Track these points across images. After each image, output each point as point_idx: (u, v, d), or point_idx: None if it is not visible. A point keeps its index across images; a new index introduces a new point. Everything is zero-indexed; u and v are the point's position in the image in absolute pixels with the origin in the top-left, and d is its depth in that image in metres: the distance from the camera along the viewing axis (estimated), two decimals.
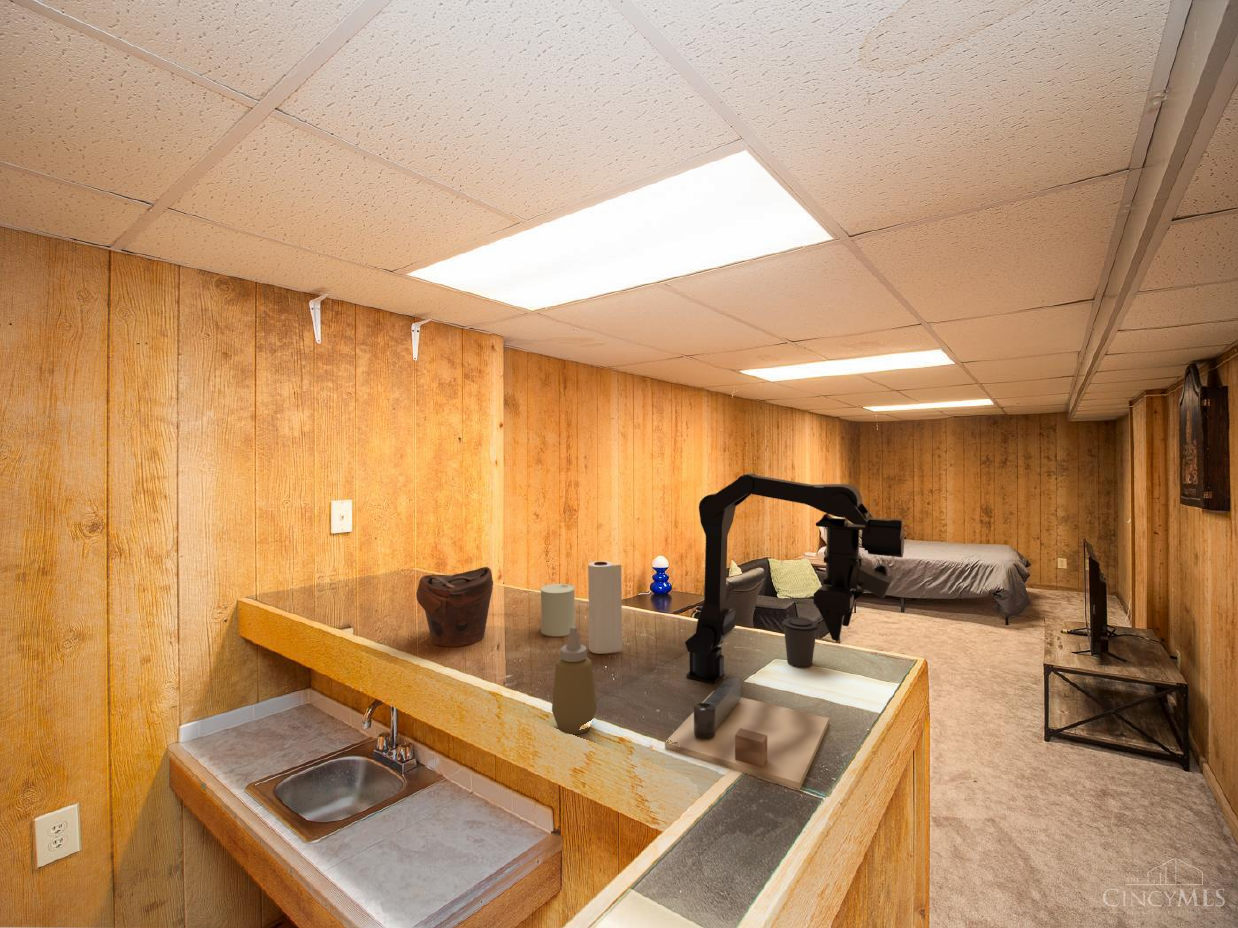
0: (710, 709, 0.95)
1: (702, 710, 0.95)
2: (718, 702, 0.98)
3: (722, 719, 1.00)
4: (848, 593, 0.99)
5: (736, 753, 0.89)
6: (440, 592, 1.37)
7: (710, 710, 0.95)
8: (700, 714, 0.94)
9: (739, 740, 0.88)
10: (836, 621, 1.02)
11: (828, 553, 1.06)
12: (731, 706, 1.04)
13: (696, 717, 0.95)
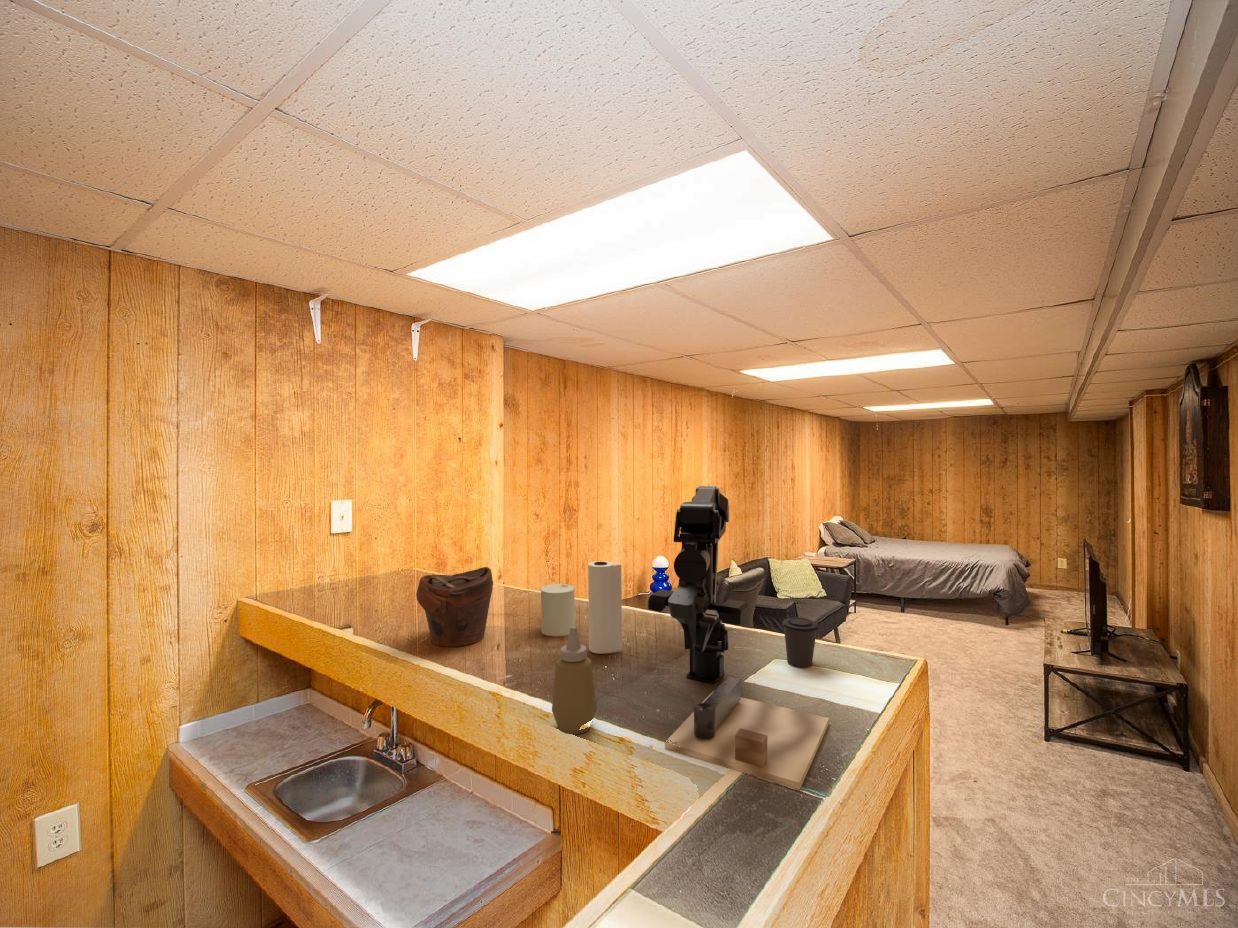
0: (710, 709, 0.95)
1: (702, 710, 0.95)
2: (718, 702, 0.98)
3: (722, 719, 1.00)
4: (657, 598, 1.09)
5: (736, 753, 0.89)
6: (440, 592, 1.37)
7: (710, 710, 0.95)
8: (700, 714, 0.94)
9: (739, 740, 0.88)
10: None
11: None
12: (731, 706, 1.04)
13: (696, 717, 0.95)
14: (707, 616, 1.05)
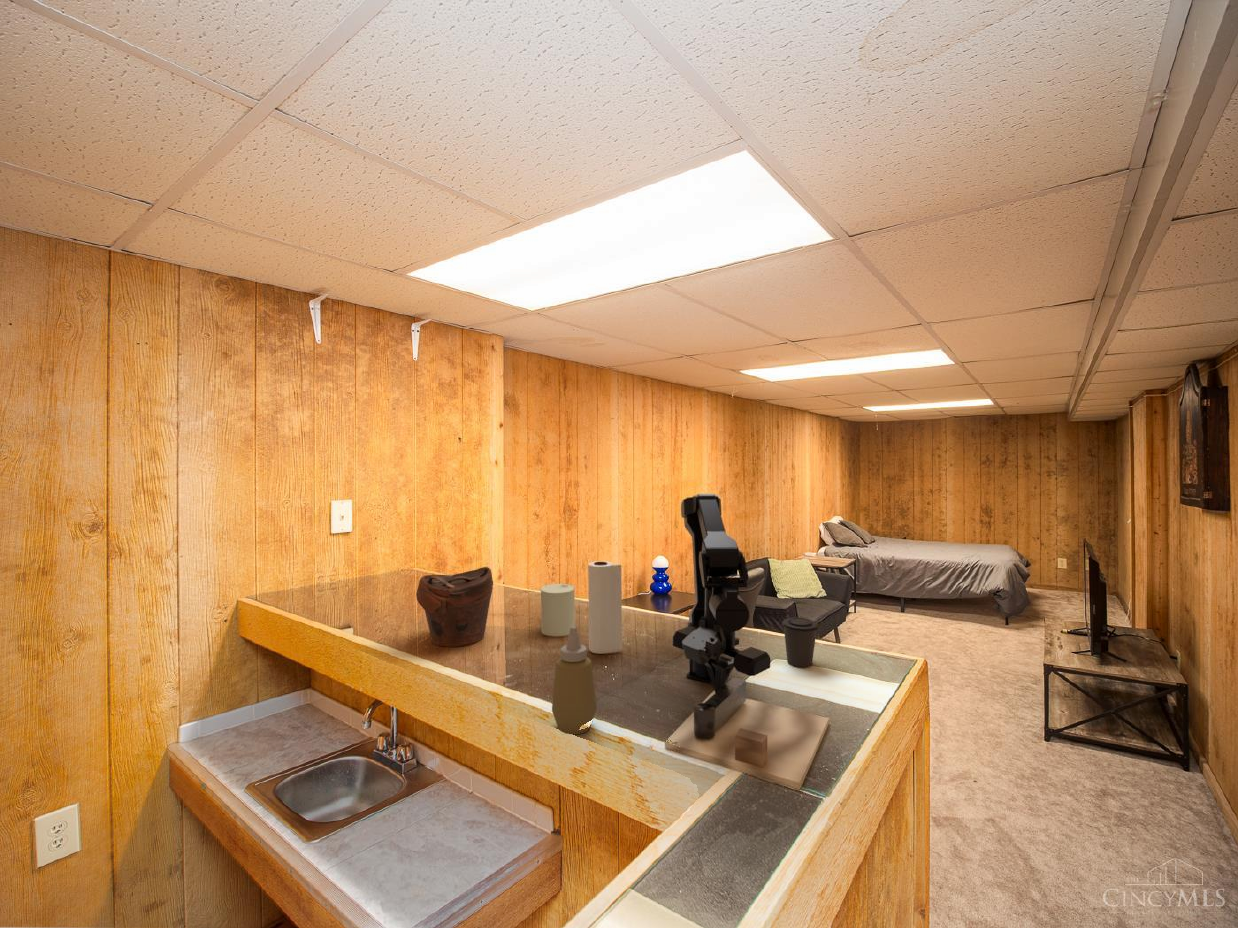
0: (710, 709, 0.95)
1: (702, 710, 0.95)
2: (719, 703, 0.98)
3: (724, 720, 0.99)
4: (681, 635, 1.09)
5: (736, 753, 0.89)
6: (440, 592, 1.37)
7: (710, 710, 0.95)
8: (699, 714, 0.94)
9: (739, 740, 0.88)
10: None
11: None
12: (735, 708, 1.03)
13: (696, 717, 0.95)
14: (721, 660, 1.03)
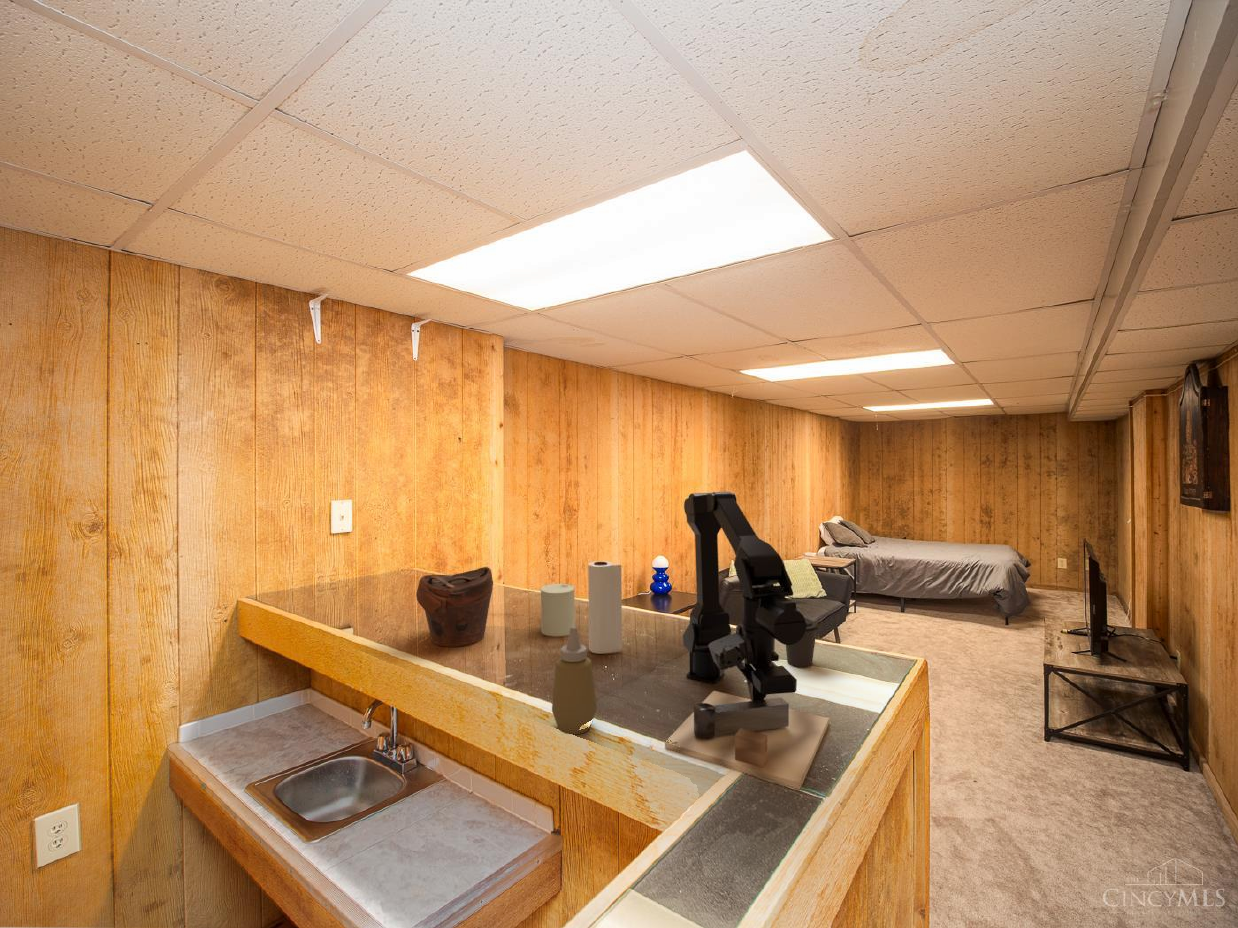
0: (707, 711, 0.95)
1: (699, 709, 0.95)
2: (728, 710, 0.96)
3: (736, 730, 0.96)
4: None
5: (736, 753, 0.89)
6: (440, 592, 1.37)
7: (705, 711, 0.94)
8: (694, 711, 0.95)
9: (739, 740, 0.88)
10: None
11: None
12: (762, 726, 0.97)
13: None
14: (752, 672, 0.98)
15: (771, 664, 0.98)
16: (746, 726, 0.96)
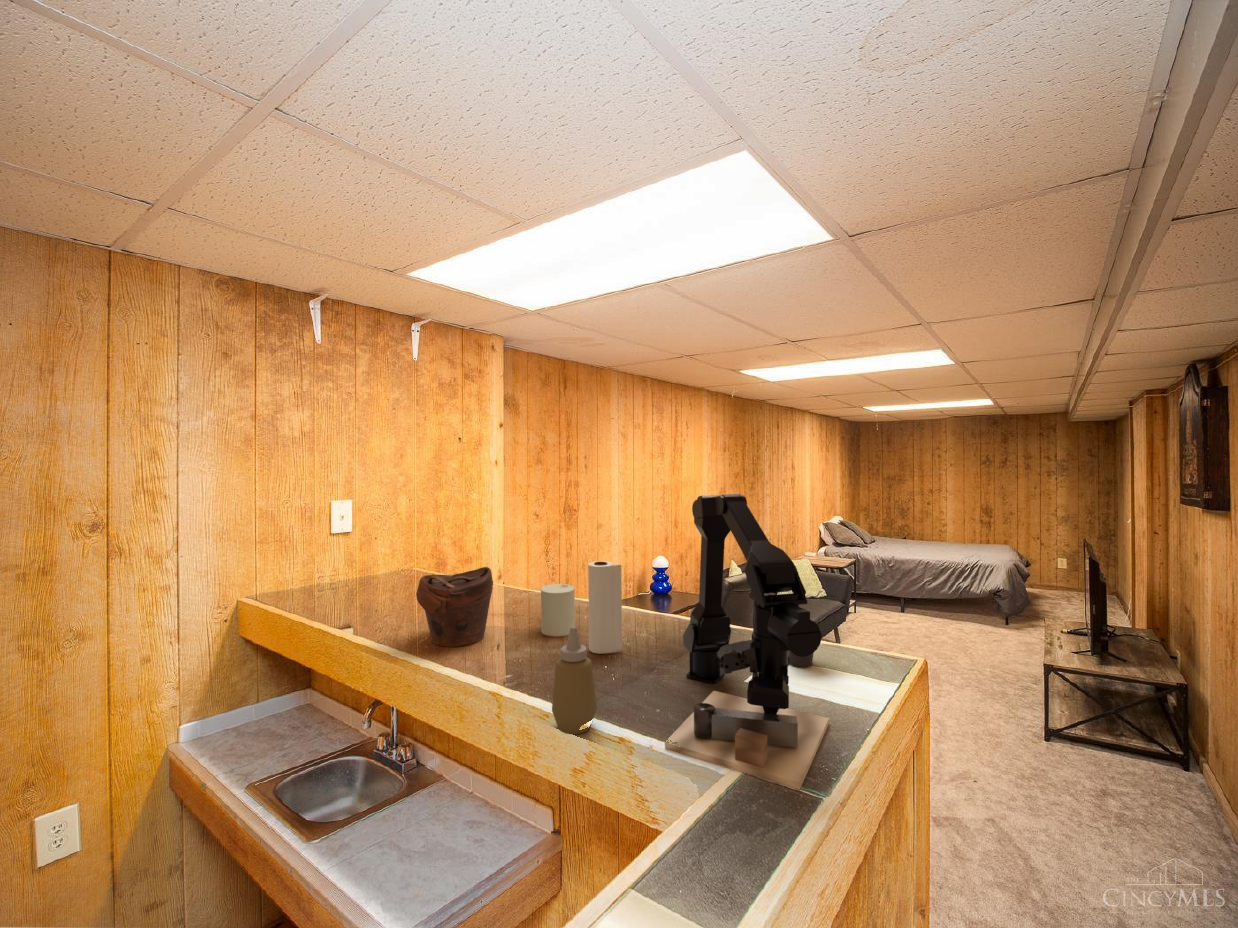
0: (704, 711, 0.95)
1: (699, 707, 0.96)
2: (727, 715, 0.94)
3: None
4: None
5: (736, 753, 0.89)
6: (440, 592, 1.37)
7: (702, 711, 0.95)
8: None
9: (739, 740, 0.88)
10: None
11: None
12: None
13: None
14: None
15: (780, 678, 0.92)
16: None
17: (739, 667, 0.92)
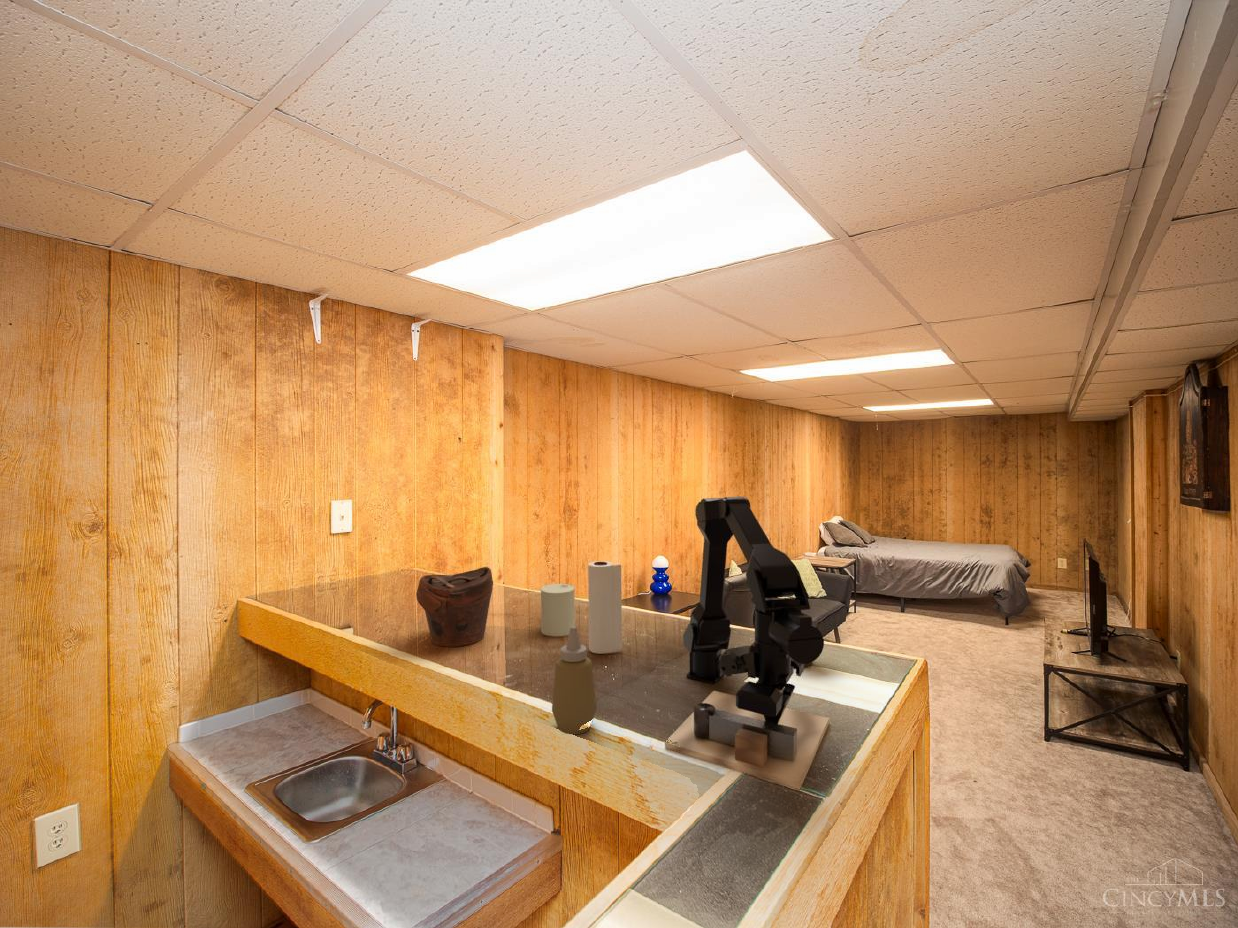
0: (702, 710, 0.95)
1: (699, 707, 0.96)
2: (724, 718, 0.93)
3: (732, 742, 0.92)
4: None
5: (736, 753, 0.89)
6: (440, 592, 1.37)
7: (700, 710, 0.95)
8: None
9: (739, 740, 0.88)
10: None
11: None
12: None
13: None
14: None
15: (778, 686, 0.89)
16: None
17: (735, 670, 0.91)
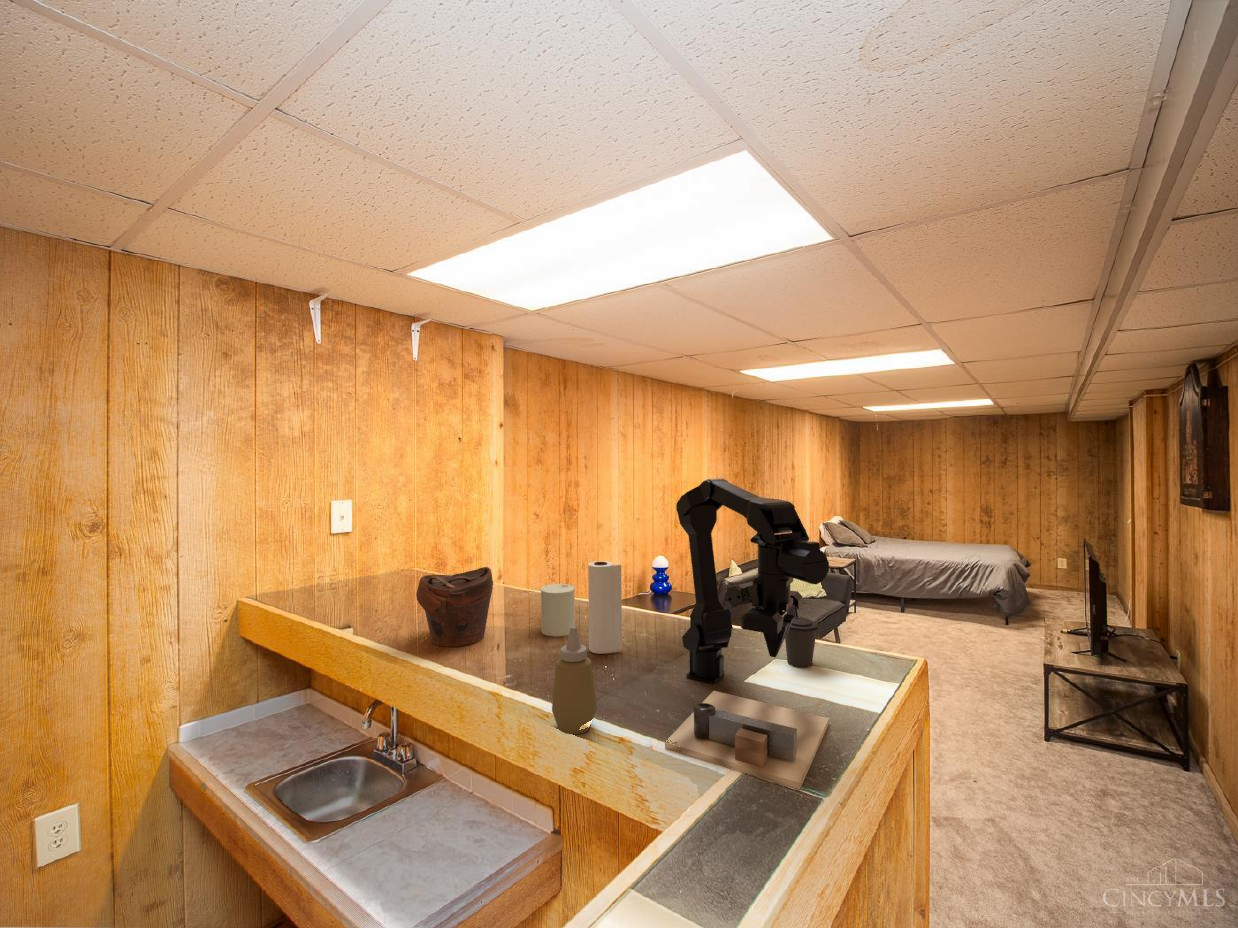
0: (702, 710, 0.95)
1: (699, 707, 0.96)
2: (724, 718, 0.93)
3: (732, 742, 0.92)
4: None
5: (736, 753, 0.89)
6: (440, 592, 1.37)
7: (700, 710, 0.95)
8: None
9: (739, 740, 0.88)
10: None
11: None
12: None
13: None
14: None
15: (779, 613, 0.99)
16: None
17: (740, 600, 1.01)
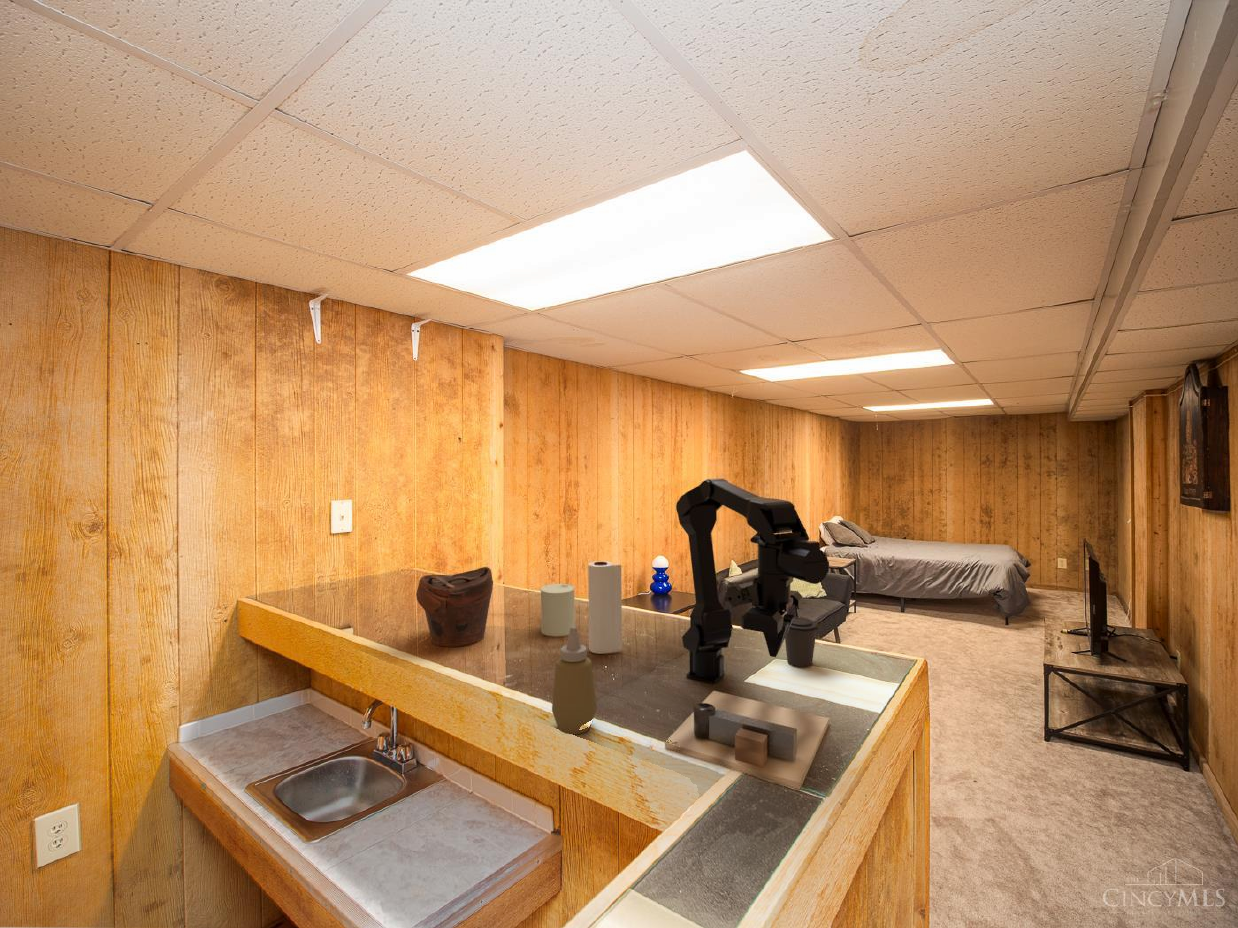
0: (702, 710, 0.95)
1: (699, 707, 0.96)
2: (724, 718, 0.93)
3: (732, 742, 0.92)
4: None
5: (736, 753, 0.89)
6: (440, 592, 1.37)
7: (700, 710, 0.95)
8: None
9: (739, 740, 0.88)
10: None
11: None
12: None
13: None
14: None
15: (779, 613, 0.99)
16: None
17: (740, 599, 1.01)
